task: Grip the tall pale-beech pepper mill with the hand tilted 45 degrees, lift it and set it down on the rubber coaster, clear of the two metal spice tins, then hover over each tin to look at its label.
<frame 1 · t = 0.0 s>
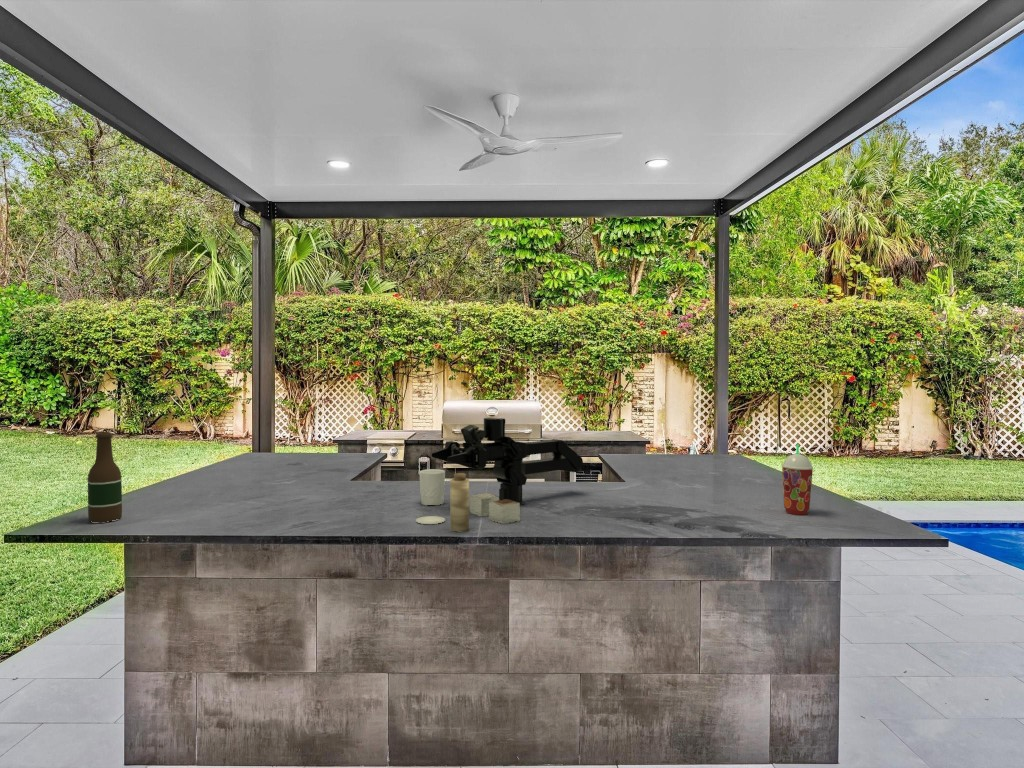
hand: (439, 457, 177), 17 cm above the countertop, tool horizontal, fingers open, 9 cm apart
white cup: (432, 504, 192), on the countertop
smoothie: (796, 513, 182), on the countertop
pepper mill: (459, 529, 162), on the countertop
coaster: (430, 521, 170), on the countertop
beer bottle: (105, 521, 170), on the countertop
spice tin B: (504, 520, 172), on the countertop
spice tin A: (484, 513, 180), on the countertop
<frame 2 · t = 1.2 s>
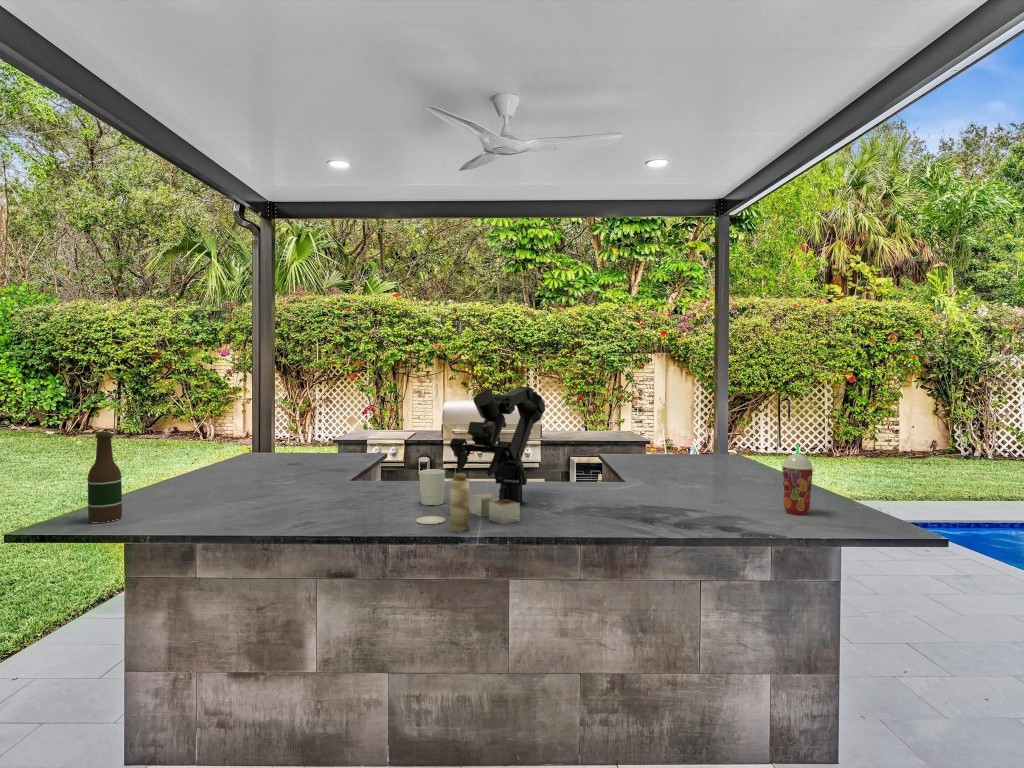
hand: (473, 473, 169), 13 cm above the countertop, tool tilted 45°, fingers open, 9 cm apart
nothing on the countertop moved.
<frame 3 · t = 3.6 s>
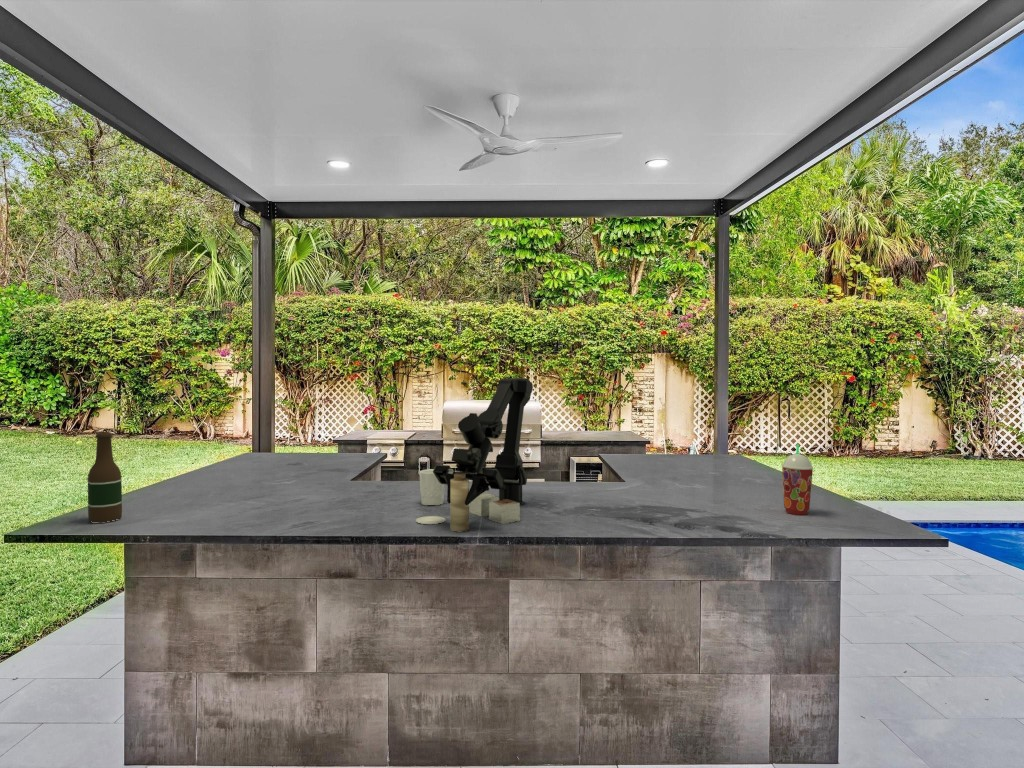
hand: (457, 503, 160), 7 cm above the countertop, tool tilted 45°, fingers closed on pepper mill, 5 cm apart
pepper mill: (459, 529, 162), on the countertop, touching gripper
everything else where it was.
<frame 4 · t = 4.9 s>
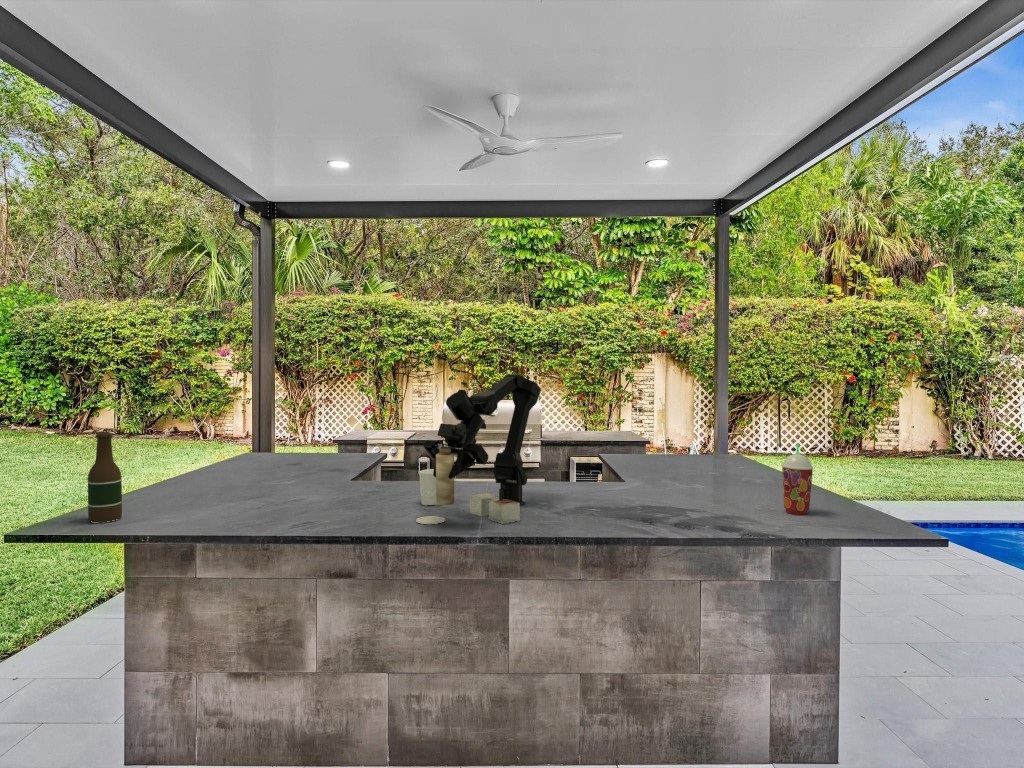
hand: (441, 477, 164), 13 cm above the countertop, tool tilted 45°, fingers closed on pepper mill, 5 cm apart
pepper mill: (445, 502, 165), point 6 cm above the countertop, touching gripper
everything else where it was.
when the fingers open (8 cm above the countertop, at t = 6.7 s): pepper mill stays where it is, resting on coaster.
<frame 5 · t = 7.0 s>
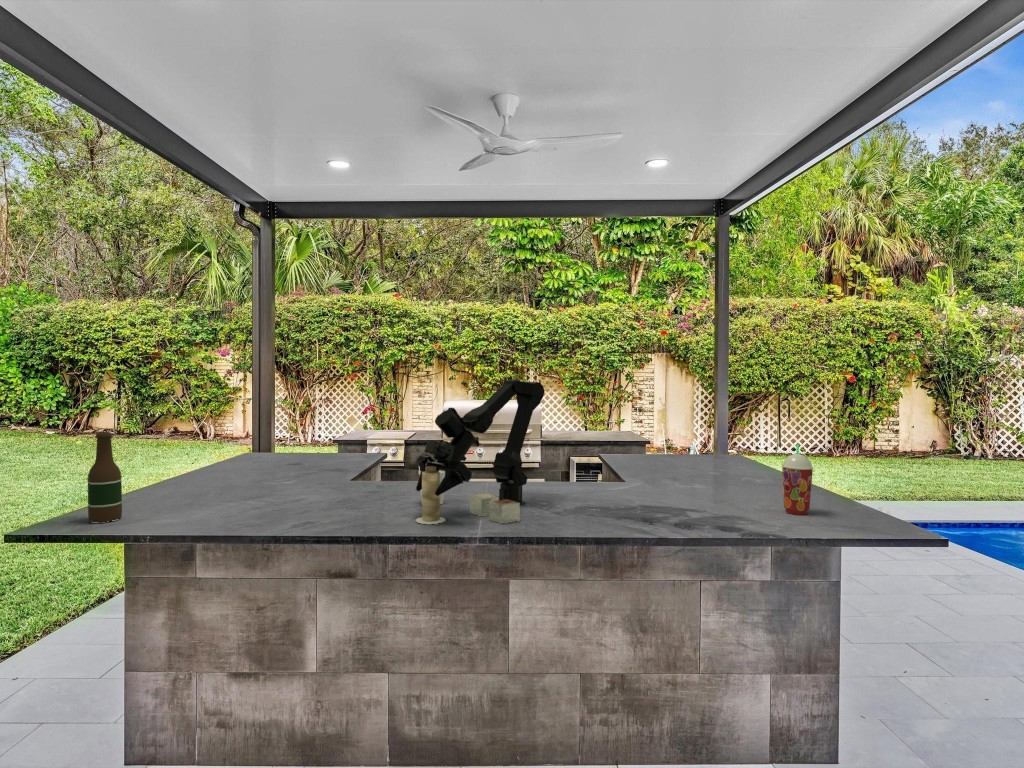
hand: (426, 492, 169), 8 cm above the countertop, tool tilted 45°, fingers open, 8 cm apart
pepper mill: (430, 519, 171), resting on coaster
everything else where it was.
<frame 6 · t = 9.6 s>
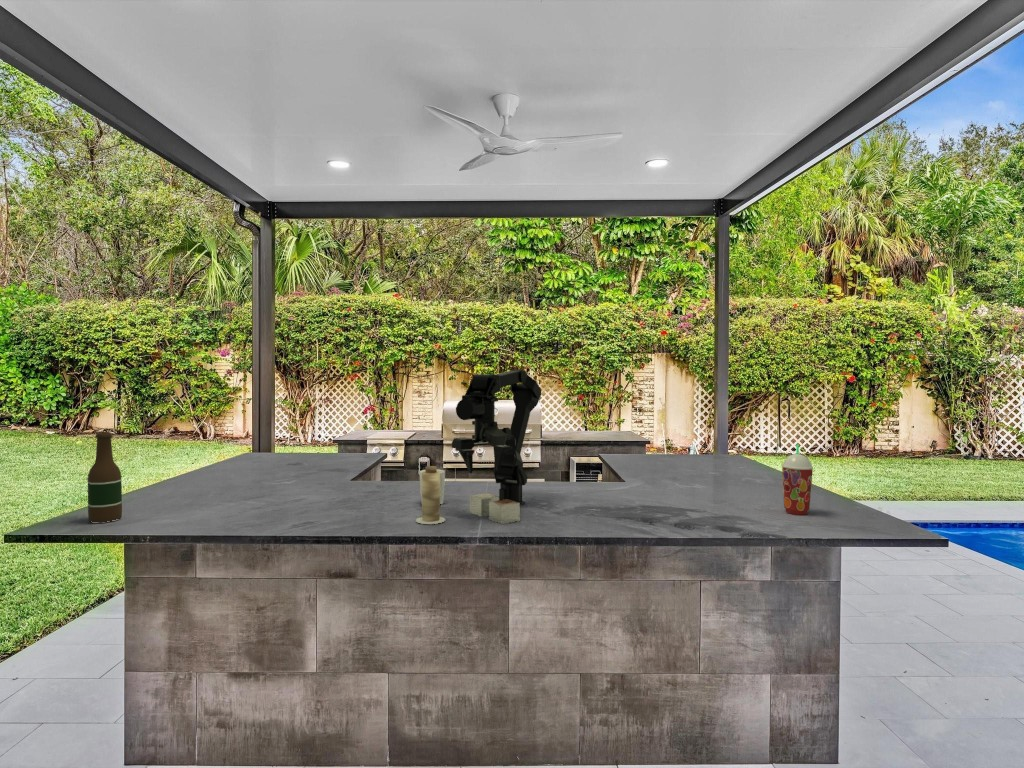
hand: (484, 471, 179), 12 cm above the countertop, tool pointing down, fingers open, 9 cm apart
nothing on the countertop moved.
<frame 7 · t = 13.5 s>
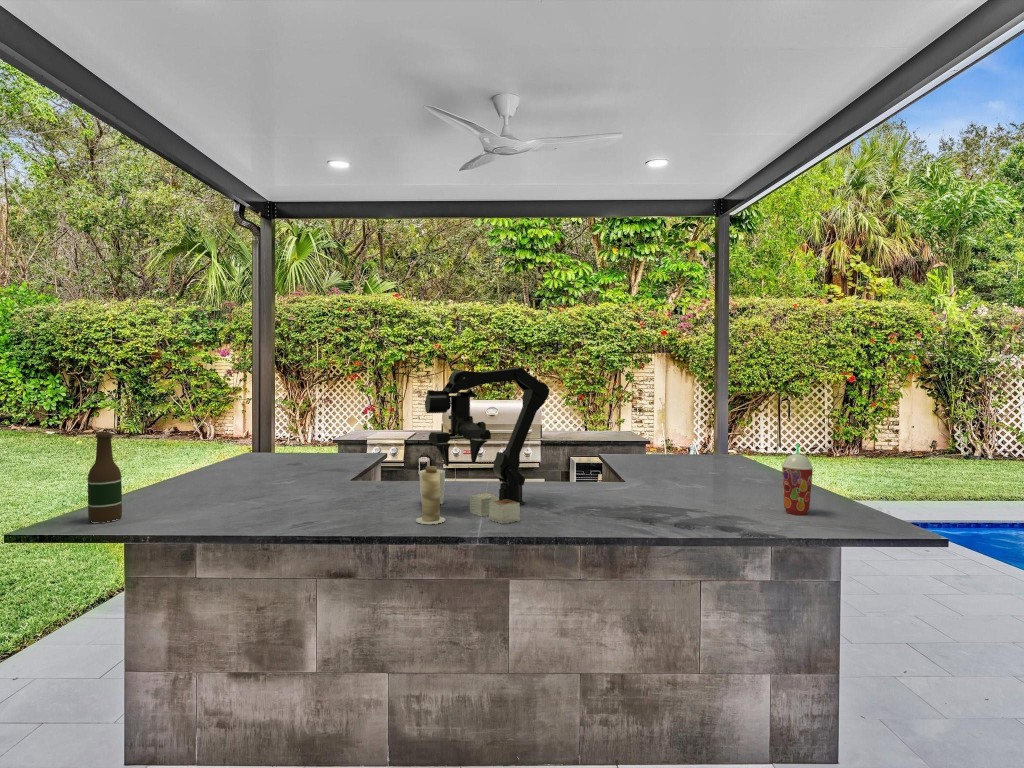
hand: (460, 464, 186), 13 cm above the countertop, tool pointing down, fingers open, 9 cm apart
nothing on the countertop moved.
at the end: pepper mill 0.1 cm from the coaster (horizontally); pepper mill tilted 0°; pepper mill resting on coaster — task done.
